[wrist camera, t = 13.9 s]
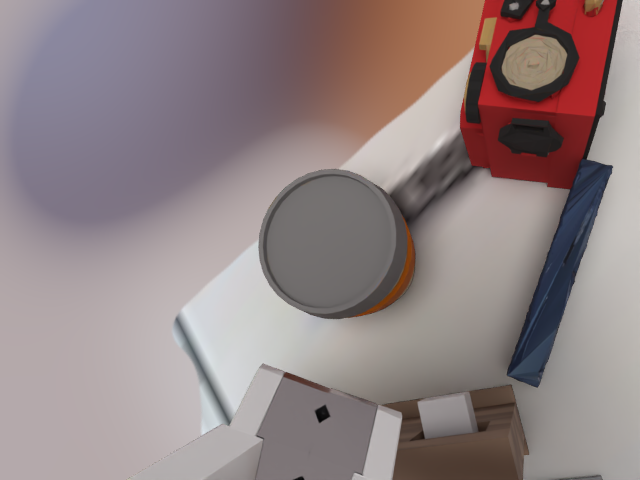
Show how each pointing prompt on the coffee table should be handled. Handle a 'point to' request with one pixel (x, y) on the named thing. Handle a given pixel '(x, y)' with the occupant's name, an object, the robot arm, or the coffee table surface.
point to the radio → (538, 86)
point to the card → (586, 478)
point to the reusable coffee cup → (336, 246)
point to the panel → (464, 442)
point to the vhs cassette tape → (559, 273)
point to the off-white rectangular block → (447, 415)
